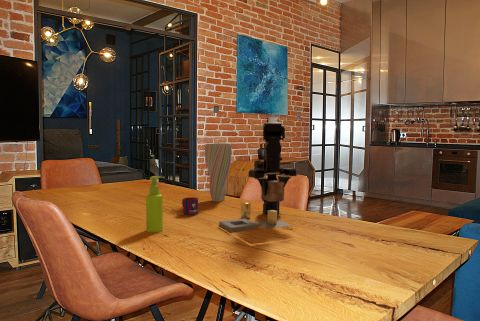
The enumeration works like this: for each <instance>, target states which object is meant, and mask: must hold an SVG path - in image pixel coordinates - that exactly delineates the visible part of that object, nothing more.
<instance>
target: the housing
mask: <svg viewBox="0 0 480 321" xmlns="http://www.w3.org/2000/svg"><path fill="white" fill-rule="evenodd" d="M260 191H261V192H260V193H261V194H260V195H261V196H260V197H261V198H260V199H261V200H262V199H263V200H266V201H269V202H272V201H279V202H280V201H281V202H284V201H285V187H284V182H280V181H279V180H278V181H276V180H275V181H268V184H267V194H266V196H264V194H263V191H262V188H261V190H260Z"/></svg>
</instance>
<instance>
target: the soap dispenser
mask: <svg viewBox="0 0 480 321" xmlns="http://www.w3.org/2000/svg"><path fill="white" fill-rule="evenodd" d="M160 178H162V176H161V175H153V176H150V177H149V180H151V184H149V187H148V188H149V193H148V194H146V195H145V213H146V214H145V217H146V220H145V221H146V222H145V223H146V225H145V226H146V231H145V232H147V233H153V234H154V233H160V232H162V231H163V230H164V226H163V224H164V222H163V220H164V219H163V217H164V215H163V211H164V210H163V209H164V206H163V205H164V204H163V194H160V186H159V185H158V183H157V179H160Z"/></svg>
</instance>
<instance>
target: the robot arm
mask: <svg viewBox="0 0 480 321" xmlns="http://www.w3.org/2000/svg"><path fill="white" fill-rule="evenodd" d="M262 136H263V138H262V139H263V141H264V143H265V156H264V157H263V161H261V160H254V161H253V162H254V165H253V168H254V169H253V168H252V169H249V171H248V178H252V179H255V180H257V181H258V183H259V185H260V187H261V188H262V191H263V194H264V196H266V194H267V184H268V181H275V180H276V181H280V182H284V188H285V187H286V185H287V184H288V182H289V181H290V180H291V178H292V177H297V175H298V174H297V170H296V168H293V167H292V168H291V167H281V161H283V157H281V152H282V150H283V149H282V145H281V144H282V143H281V141H284V140H285V138H286V128H285V126H284V124H282V122H280V121H279V117H276V116H275V117H274V116H273V117H272V116H270V117H267V118H266V121H265V123H263V125H262ZM261 200H262V201H261V202H263V204H262V212H261V214H264V215H267V216H268V210H276V211H277V215H282V213H280V203H281V202H282V201H272V202H269V201H266V200H263V199H261Z"/></svg>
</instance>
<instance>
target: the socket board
mask: <svg viewBox="0 0 480 321" xmlns="http://www.w3.org/2000/svg"><path fill="white" fill-rule="evenodd" d="M218 225H219V226H218V227H220V228H221V229H223V230H225V231H227V232H228V233H230V234H232V232H243V231H249V230H256V229H259V225H258V224H256V223H254V221H251V220H250V219H241V218H239V219H228V220H219V221H218Z"/></svg>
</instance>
